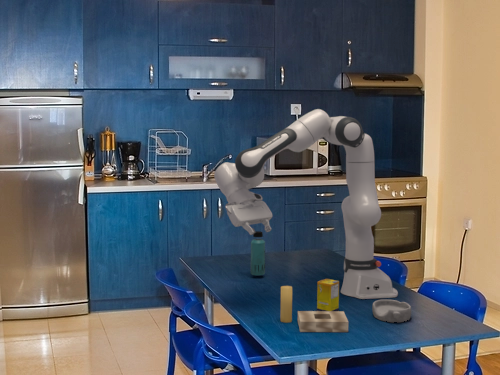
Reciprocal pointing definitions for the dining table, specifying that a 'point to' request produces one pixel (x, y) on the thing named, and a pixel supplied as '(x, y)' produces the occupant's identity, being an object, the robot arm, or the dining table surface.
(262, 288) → the dining table surface
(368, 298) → the robot arm
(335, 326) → the hole block
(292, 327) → the dining table surface
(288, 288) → the pin
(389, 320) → the dish
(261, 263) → the beverage bottle
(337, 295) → the supplement box
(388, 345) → the dining table surface
